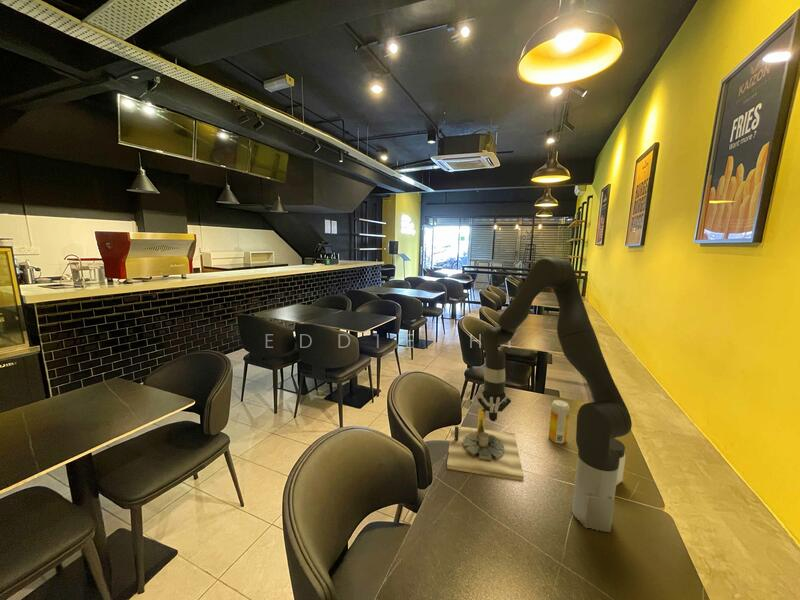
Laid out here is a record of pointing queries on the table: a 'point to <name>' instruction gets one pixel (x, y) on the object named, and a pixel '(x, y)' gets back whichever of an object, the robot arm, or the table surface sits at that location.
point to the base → (465, 462)
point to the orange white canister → (559, 421)
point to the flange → (472, 439)
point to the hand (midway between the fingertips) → (492, 420)
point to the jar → (620, 450)
